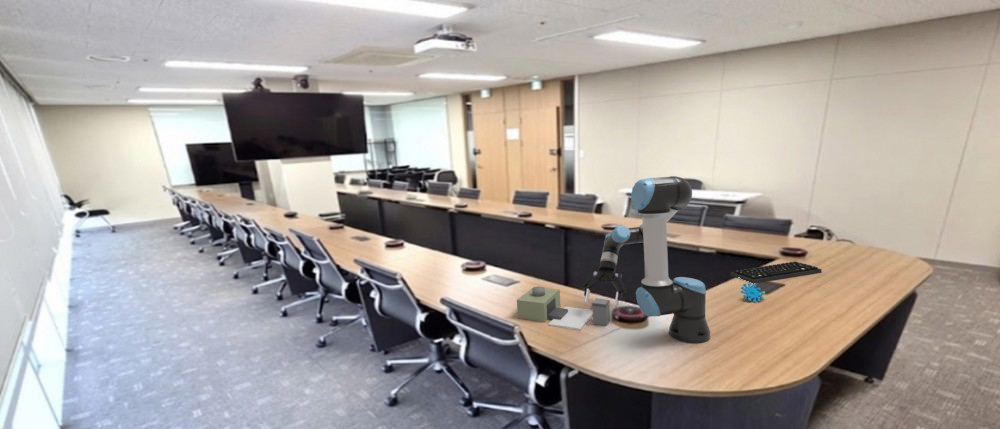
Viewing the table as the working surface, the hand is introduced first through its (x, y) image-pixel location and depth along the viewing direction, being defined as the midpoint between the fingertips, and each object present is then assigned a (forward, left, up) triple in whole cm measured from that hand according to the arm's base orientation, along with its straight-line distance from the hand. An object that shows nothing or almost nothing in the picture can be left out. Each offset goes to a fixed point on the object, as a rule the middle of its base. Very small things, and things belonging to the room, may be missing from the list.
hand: (600, 304), depth 187 cm
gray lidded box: (-1, +2, -8) cm, 8 cm away
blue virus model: (-61, -47, -8) cm, 77 cm away
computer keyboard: (-73, -94, -8) cm, 119 cm away
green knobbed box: (+21, +2, -7) cm, 23 cm away
